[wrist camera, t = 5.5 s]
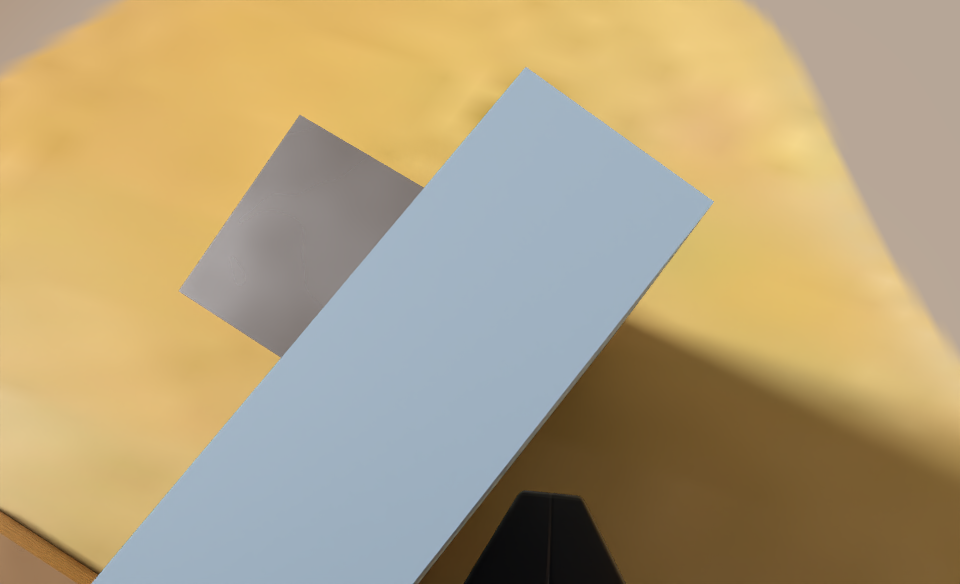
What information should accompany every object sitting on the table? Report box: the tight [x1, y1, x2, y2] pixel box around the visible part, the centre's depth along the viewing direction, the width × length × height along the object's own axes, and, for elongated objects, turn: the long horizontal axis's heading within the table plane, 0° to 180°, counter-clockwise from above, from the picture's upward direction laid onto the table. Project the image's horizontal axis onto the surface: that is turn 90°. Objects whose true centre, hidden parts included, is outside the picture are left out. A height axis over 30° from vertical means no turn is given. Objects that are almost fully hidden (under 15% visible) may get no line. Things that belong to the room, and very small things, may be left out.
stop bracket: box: [179, 115, 424, 358], centre depth 13 cm, size 3×2×5 cm
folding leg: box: [91, 67, 714, 584], centre depth 10 cm, size 9×2×8 cm, turn 141°
